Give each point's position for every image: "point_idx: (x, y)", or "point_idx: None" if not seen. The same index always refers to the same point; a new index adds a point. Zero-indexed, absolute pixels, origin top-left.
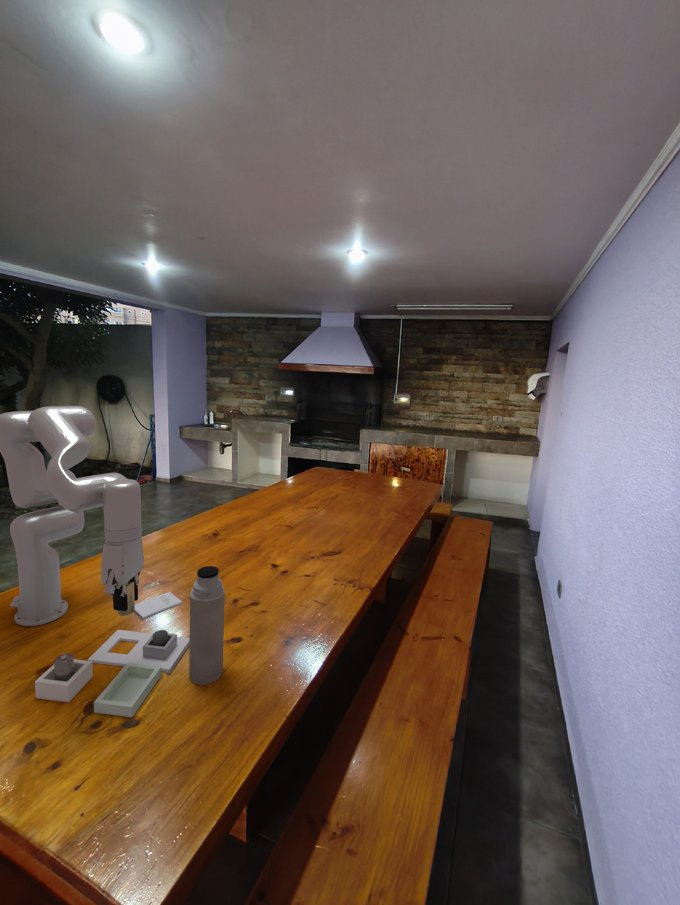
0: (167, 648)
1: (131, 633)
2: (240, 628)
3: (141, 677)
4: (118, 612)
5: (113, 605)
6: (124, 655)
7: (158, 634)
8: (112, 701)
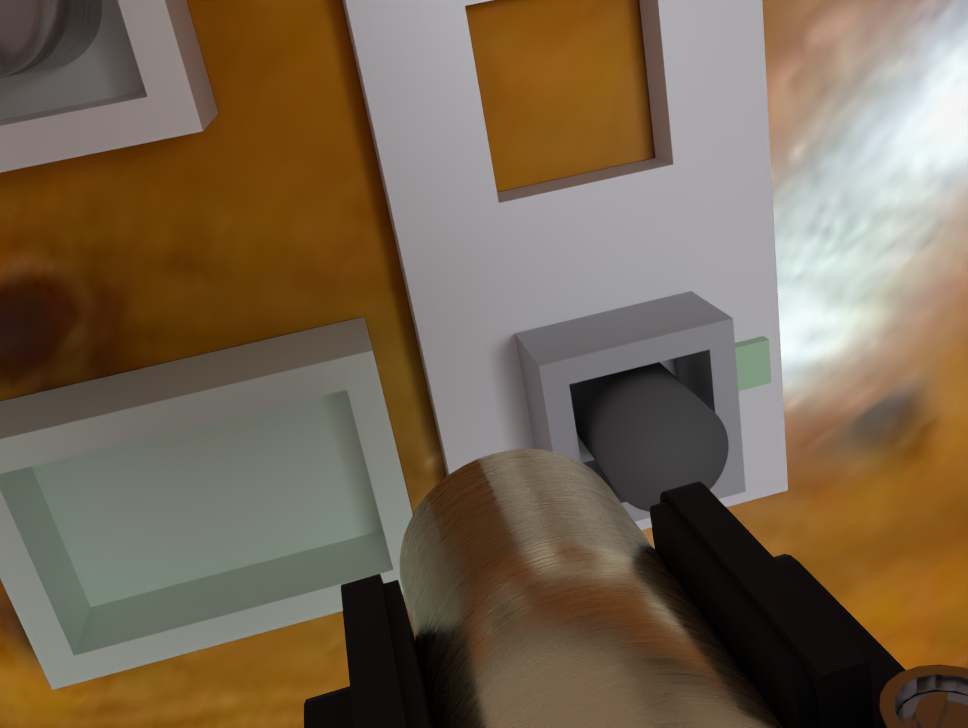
0: None
1: (734, 22)
2: (961, 643)
3: (357, 449)
4: (415, 537)
5: (347, 632)
6: (482, 188)
7: (664, 446)
8: (21, 554)
